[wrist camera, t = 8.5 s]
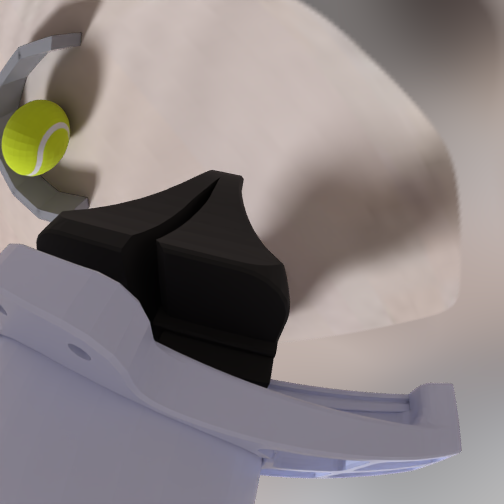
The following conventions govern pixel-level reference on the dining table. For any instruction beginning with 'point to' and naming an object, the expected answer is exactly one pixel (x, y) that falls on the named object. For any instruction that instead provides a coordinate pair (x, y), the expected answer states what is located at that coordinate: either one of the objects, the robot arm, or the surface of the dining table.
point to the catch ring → (4, 106)
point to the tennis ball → (35, 137)
